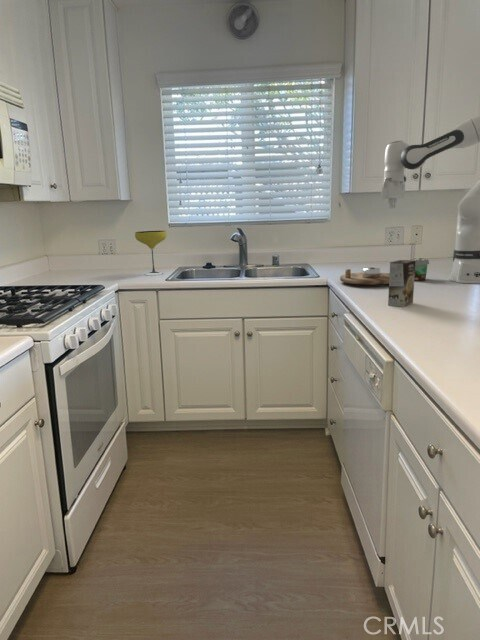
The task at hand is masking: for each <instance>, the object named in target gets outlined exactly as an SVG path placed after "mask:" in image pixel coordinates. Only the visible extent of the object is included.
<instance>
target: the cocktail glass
mask: <svg viewBox="0 0 480 640" xmlns="http://www.w3.org/2000/svg"><path fill="white" fill-rule="evenodd" d="M134 237H135V239H136V241H138V242H140V243H142V244H144V245H146V246H147V247H148V248H149V249H150V250H151V257H152V258H151V260H152V271H151V272H149V273H159V271H156V270H155V264H154V263H155V261H154V252H153V251H154V249H155V247H156V246H157V245H159V244H160V243H162V242H163V241H165V239H167V231H166V230H146V231H136V232H134Z"/></svg>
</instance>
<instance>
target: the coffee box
mask: <svg viewBox="0 0 480 640" xmlns="http://www.w3.org/2000/svg"><path fill="white" fill-rule="evenodd" d="M415 261H416V260H408V259H407V260H406V259H405V260H404V259H399V260H394V261H391V262H389V273H390V276H389V284H388V299H387V305H388V306H394V307H402V308H403V307H407V306H409V305H411V304H413V302H414V293H415V290H414V289H415V281H414V277H415Z"/></svg>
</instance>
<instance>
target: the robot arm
mask: <svg viewBox="0 0 480 640" xmlns="http://www.w3.org/2000/svg"><path fill="white" fill-rule="evenodd" d="M479 143H480V113H479V114H477V115H475V116H472V117H470V118H468V119H466V120H464V121H462V122H460V123H459V124H457V125H456V126H454V127H453V128H452V129H451V130H449V131H447V132H446V133H445V134H443V135H440V136H439V137H436V138H434V139H431V140H429V141H428V142H425V143H423V144H422V143H421V144H412V145H410V144H409V143H406V142H405V141H404V140H396V141H393V142H390V143H388V144H387V145H386V147H385V150H384V161H383V163H384V172H383V182H382V184H381V185H382V186H381V192H380V193H381V194H380V197H381V199H388V204H389V209H395V208H396V204H397V201H398V200H397V199H403V198H404V197H405V191H406V182H407V176H406V175H405V173H404V172H405V169H407V170H412V171H414V170H418V169H420V168H422V167H423V166H424V164H425V163H426V161H427V160H428V159H430V158H432V157H434V156H437V155H438V154H441V153H443V152H445V151H448V150H451V149H465V148H468V147H471V146H474V145H476V144H479ZM452 255H453V256H452V261H453V264H452V269H451V273H450V276H449V278H448V280H449V281H452V282H456V283H460V284H480V179H479V180H477V182H476V183H475V184H474V185H473V186H472V188H470V190H469V191H468V192H467V193H466V194H465V195H464V196H463V197H462V198H461V199H460V201H459V202H458V205H457V219H456V232H455V243H454V250H453V254H452Z"/></svg>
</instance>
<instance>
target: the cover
mask: <svg viewBox="0 0 480 640" xmlns="http://www.w3.org/2000/svg"><path fill="white" fill-rule="evenodd" d="M361 273H362V277H363V278H379V277H380V273H381V268H380V267H363V268H362V270H361Z"/></svg>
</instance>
